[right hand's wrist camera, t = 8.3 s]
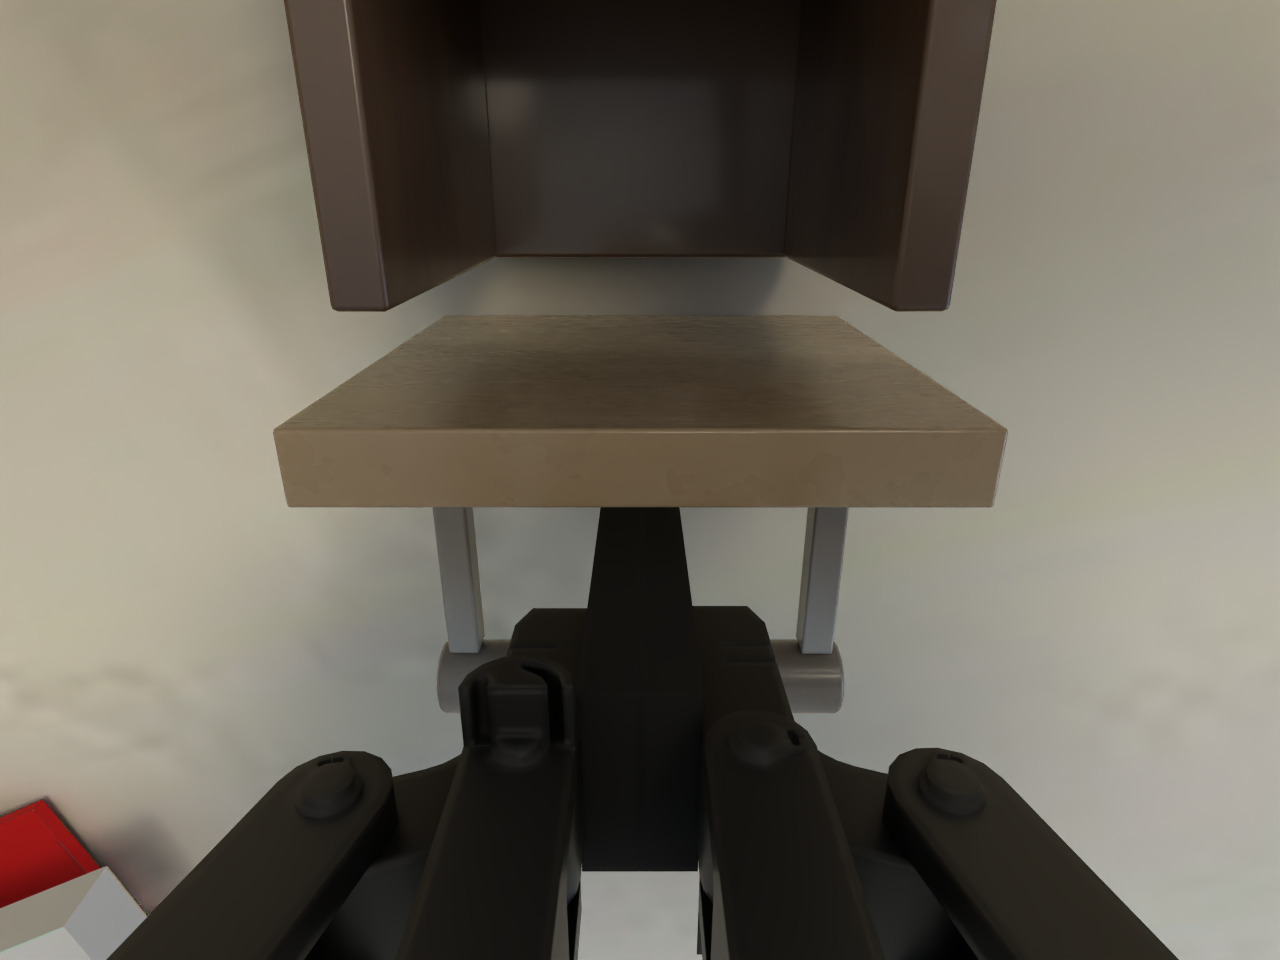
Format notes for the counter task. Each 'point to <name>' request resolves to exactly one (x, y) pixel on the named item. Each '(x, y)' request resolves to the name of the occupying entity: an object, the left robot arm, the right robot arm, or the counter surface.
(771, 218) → the drawer
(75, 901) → the toy
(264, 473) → the counter surface
